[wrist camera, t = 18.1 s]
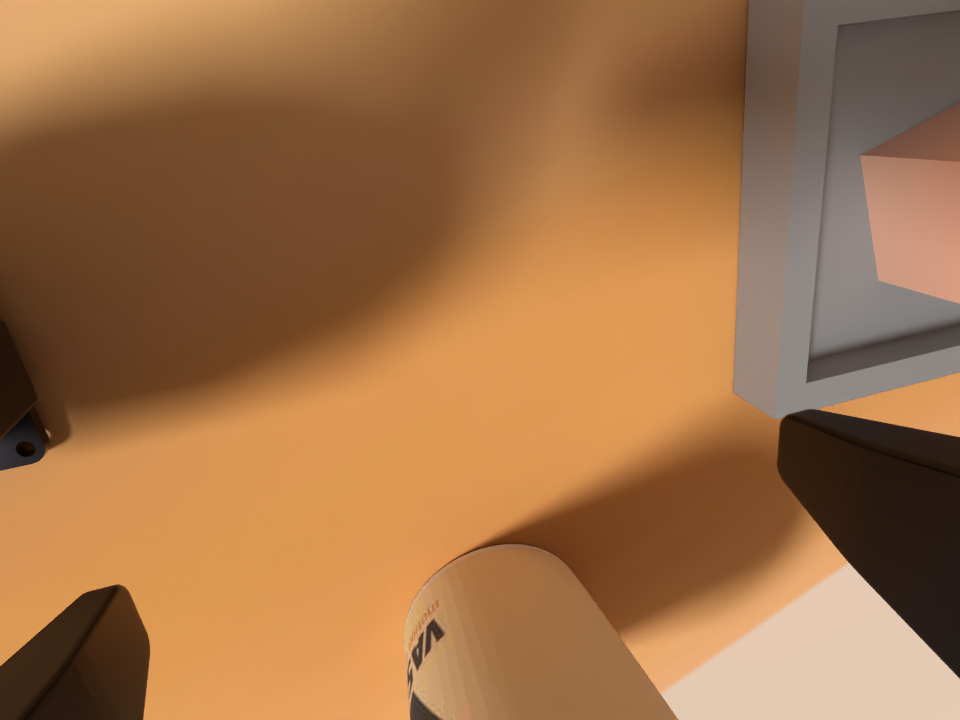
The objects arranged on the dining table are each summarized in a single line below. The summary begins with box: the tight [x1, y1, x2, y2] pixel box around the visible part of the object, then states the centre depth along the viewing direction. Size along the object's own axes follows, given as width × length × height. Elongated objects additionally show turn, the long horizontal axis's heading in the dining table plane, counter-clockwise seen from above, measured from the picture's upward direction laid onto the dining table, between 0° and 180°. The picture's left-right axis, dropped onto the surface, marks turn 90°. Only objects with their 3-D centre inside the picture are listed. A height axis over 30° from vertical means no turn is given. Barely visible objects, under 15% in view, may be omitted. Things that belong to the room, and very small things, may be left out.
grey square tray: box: [733, 0, 960, 420], centre depth 23 cm, size 14×14×2 cm
